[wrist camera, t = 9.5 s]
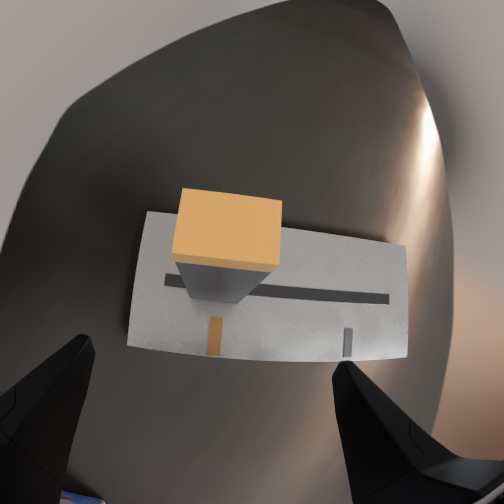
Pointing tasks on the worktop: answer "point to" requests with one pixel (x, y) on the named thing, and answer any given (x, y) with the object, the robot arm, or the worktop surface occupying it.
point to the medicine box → (78, 499)
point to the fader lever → (225, 243)
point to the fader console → (278, 302)
